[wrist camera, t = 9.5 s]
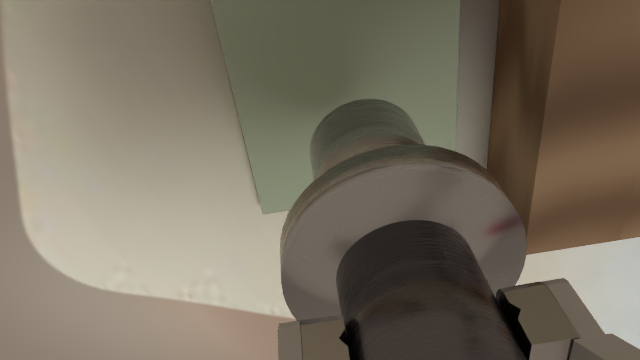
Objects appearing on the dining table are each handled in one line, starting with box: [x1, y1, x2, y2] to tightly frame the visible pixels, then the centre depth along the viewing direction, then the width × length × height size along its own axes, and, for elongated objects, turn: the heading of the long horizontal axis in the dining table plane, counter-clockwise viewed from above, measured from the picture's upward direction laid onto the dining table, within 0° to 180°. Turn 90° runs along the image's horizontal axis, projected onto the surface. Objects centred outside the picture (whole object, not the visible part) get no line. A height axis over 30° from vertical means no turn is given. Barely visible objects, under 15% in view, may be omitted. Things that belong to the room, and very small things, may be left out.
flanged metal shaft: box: [280, 99, 527, 360], centre depth 14 cm, size 6×6×11 cm
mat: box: [210, 0, 460, 214], centre depth 23 cm, size 13×10×1 cm
